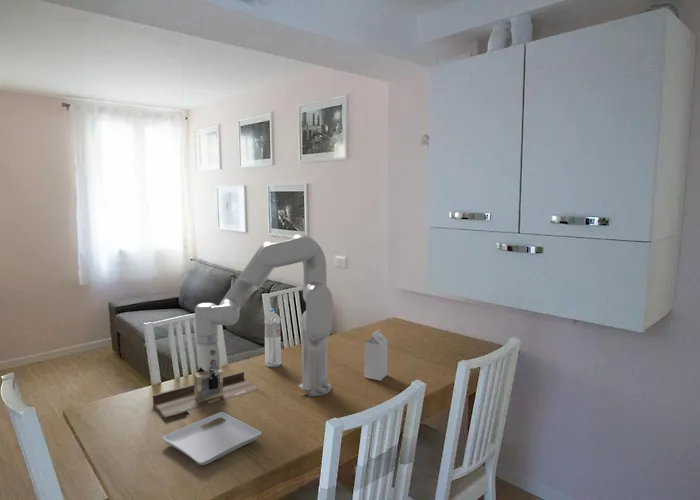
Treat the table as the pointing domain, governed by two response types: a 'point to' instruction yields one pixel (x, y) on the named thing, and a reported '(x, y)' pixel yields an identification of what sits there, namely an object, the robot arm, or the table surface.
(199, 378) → the picture frame
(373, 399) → the table surface
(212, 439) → the salad plate
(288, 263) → the robot arm
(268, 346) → the water bottle
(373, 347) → the milk carton
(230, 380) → the picture ledge
